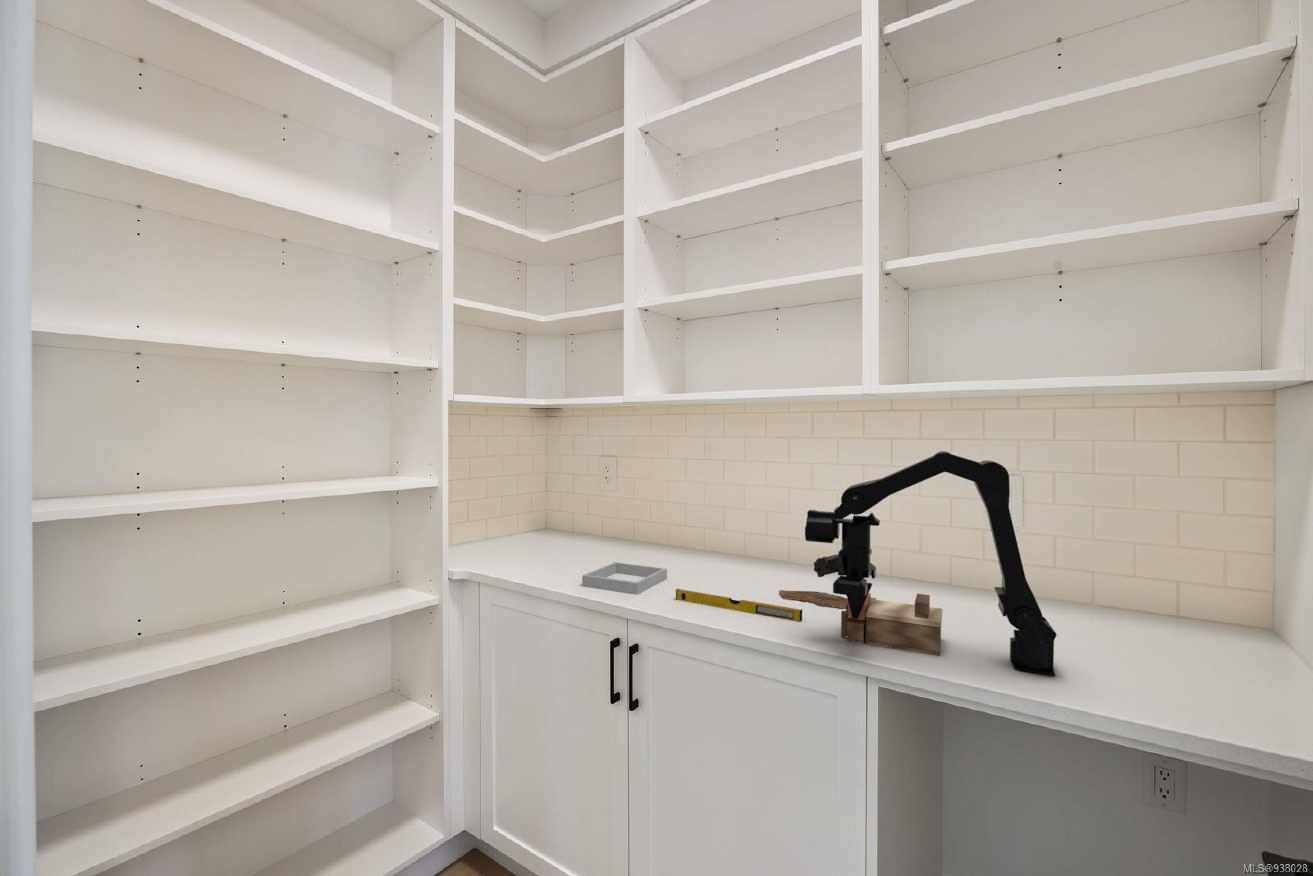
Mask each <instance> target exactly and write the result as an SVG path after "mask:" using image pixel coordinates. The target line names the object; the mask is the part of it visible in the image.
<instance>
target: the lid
mask: <svg viewBox="0 0 1313 876" xmlns="http://www.w3.org/2000/svg"><path fill="white" fill-rule="evenodd" d="M930 598H931V597H930V594H924V593H916V596H915V601H914V604H910V603H902V602H897V601H896V602H895V601H886V600H878V599H876V600H872V602H871V604H870V606H869V608H868V610H867V612H866V617H871V618H878V619H885V620H891V621H898V622H905V623H912V624H919V625H926V626H933V627H940V628H941V629H942V620H943V608H941V607H939V608H938V607H933V606H930V604H931V603H930V600H931V599H930Z"/></svg>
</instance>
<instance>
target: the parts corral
mask: <svg viewBox="0 0 1313 876" xmlns="http://www.w3.org/2000/svg"><path fill="white" fill-rule="evenodd" d="M614 574H623V575H631V576H638V577H642V579H639V580H638V581H632V580H624V579H618V578H611V577H610V576H612V575H614ZM643 577H644V578H643ZM581 580H582V581H581V582H582V583H581V585H582V587H588V588H594V589H598V590H600V589H601V590H607V591H613V592H619V593H620V592H621V593H626V594H633V595H639V594H641V593H643V592H645V591H647V590H648V589H650V588H652V587H654V586H656V585H658V584H660V583H662V582H664V581H665V580H668V568H664V567H656V566H648V565H640V564H634V563H626V562H625V563H624V562H616V561H615V562H612V563H610V564H608V565H604V566H602V567H600V568H597V569H595V570H592V571H590V572H587V573H585V574H582V575H581Z"/></svg>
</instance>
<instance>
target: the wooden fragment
mask: <svg viewBox="0 0 1313 876" xmlns="http://www.w3.org/2000/svg"><path fill="white" fill-rule="evenodd" d="M778 595H779V596H780V598H781V599H782V600H793V601H799V602H806V603H809V604H810V603H811V604H814V605H818V606H823V607H832V608H833V607H834V608H836V609H841V610H846V604H847V603H848V599H847V597H843V596H840V595H838V594H836V595H835V594H834V593H828V592H823V591H822V592H821V591H807V590H787V589H786V590H785V589H780V590H779V591H778Z"/></svg>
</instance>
